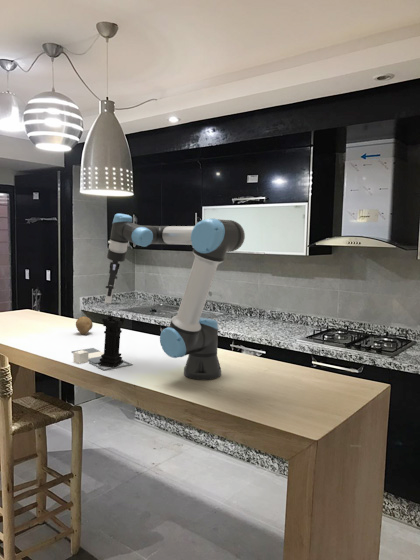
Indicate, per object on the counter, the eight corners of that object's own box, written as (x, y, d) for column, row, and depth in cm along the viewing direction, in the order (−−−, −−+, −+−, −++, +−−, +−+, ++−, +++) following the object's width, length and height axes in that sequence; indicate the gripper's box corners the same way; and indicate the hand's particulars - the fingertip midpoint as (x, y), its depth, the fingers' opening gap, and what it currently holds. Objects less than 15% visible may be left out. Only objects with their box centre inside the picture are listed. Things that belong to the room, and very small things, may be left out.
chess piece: (115, 367, 189) (118, 321, 187) (98, 364, 191) (101, 318, 188) (123, 362, 197) (126, 317, 195) (106, 359, 199) (109, 315, 196)
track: (117, 360, 201) (117, 358, 200) (94, 364, 193) (94, 363, 193) (93, 348, 219) (93, 347, 219) (71, 352, 212) (71, 351, 212)
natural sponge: (82, 331, 256) (82, 314, 255) (96, 333, 253) (95, 315, 252) (72, 334, 247) (72, 317, 246) (86, 336, 244) (85, 318, 243)
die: (88, 362, 197) (88, 351, 196) (79, 364, 193) (79, 353, 193) (82, 360, 200) (82, 349, 199) (73, 362, 196) (73, 351, 196)
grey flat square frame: (132, 365, 193) (132, 364, 193) (103, 370, 184) (103, 369, 184) (117, 358, 203) (117, 357, 203) (89, 363, 195) (89, 362, 195)
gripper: (110, 242, 200) (102, 287, 206) (106, 255, 177) (97, 305, 182) (127, 246, 202) (119, 290, 207) (125, 259, 178) (116, 308, 183)
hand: (108, 297), depth 194 cm, fingers open, 13 cm apart
